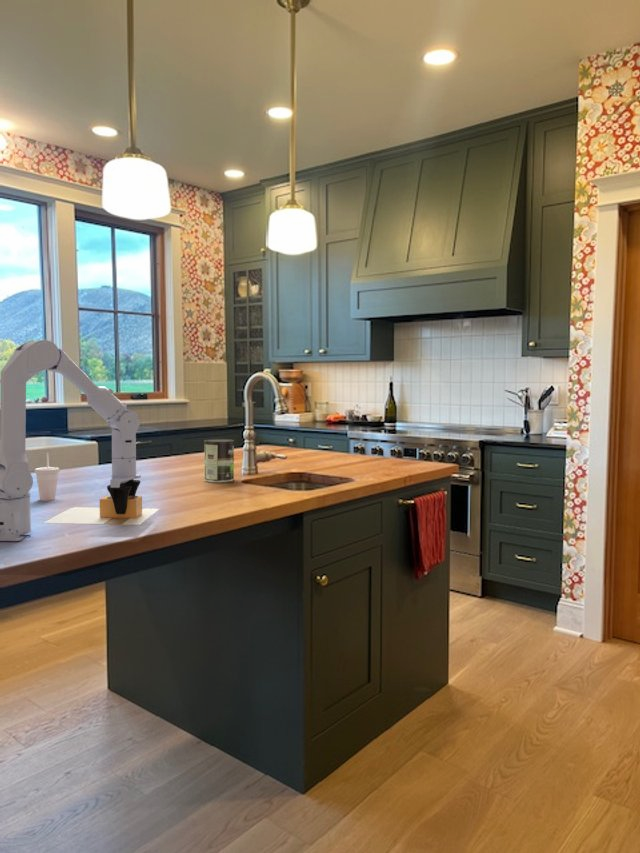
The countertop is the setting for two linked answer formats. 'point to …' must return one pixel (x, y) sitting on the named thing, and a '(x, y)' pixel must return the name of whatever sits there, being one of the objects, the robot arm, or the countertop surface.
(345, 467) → the countertop surface
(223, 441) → the coffee can
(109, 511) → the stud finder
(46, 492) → the smoothie
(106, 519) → the drywall panel
